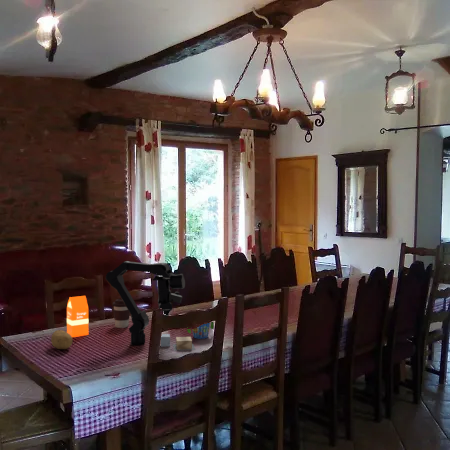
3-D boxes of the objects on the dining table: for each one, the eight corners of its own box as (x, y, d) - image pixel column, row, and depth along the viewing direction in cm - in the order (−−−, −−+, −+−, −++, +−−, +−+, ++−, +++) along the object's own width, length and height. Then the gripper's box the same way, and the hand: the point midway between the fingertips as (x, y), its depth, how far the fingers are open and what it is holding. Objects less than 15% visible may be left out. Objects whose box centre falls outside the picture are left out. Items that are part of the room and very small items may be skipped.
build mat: (174, 351, 236) (174, 350, 236) (172, 345, 246) (172, 344, 246) (195, 350, 237) (195, 349, 237) (193, 344, 247) (193, 343, 247)
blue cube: (159, 347, 242) (159, 337, 242) (159, 344, 247) (159, 334, 247) (169, 347, 243) (170, 336, 243) (169, 344, 248) (169, 334, 248)
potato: (55, 354, 230) (55, 336, 229) (47, 346, 241) (47, 330, 241) (77, 350, 235) (77, 333, 235) (68, 343, 247) (67, 327, 247)
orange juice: (66, 334, 264) (66, 296, 263) (83, 331, 269) (82, 294, 268) (72, 337, 258) (72, 298, 257) (88, 334, 263) (88, 296, 262)
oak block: (177, 349, 237) (177, 341, 237) (176, 345, 244) (176, 337, 244) (191, 348, 239) (191, 340, 238) (190, 344, 245) (190, 336, 245)
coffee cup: (111, 325, 283) (110, 298, 283) (128, 323, 288) (128, 297, 287) (114, 329, 274) (114, 302, 274) (132, 327, 279) (132, 300, 278)
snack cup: (208, 333, 269) (208, 314, 268) (219, 337, 260) (219, 318, 259) (182, 337, 260) (182, 317, 259) (192, 342, 251) (192, 321, 251)
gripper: (181, 290, 236) (184, 323, 237) (178, 284, 255) (181, 315, 255) (157, 292, 234) (160, 326, 235) (156, 287, 253) (158, 317, 253)
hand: (166, 321), depth 245 cm, fingers open, 9 cm apart
